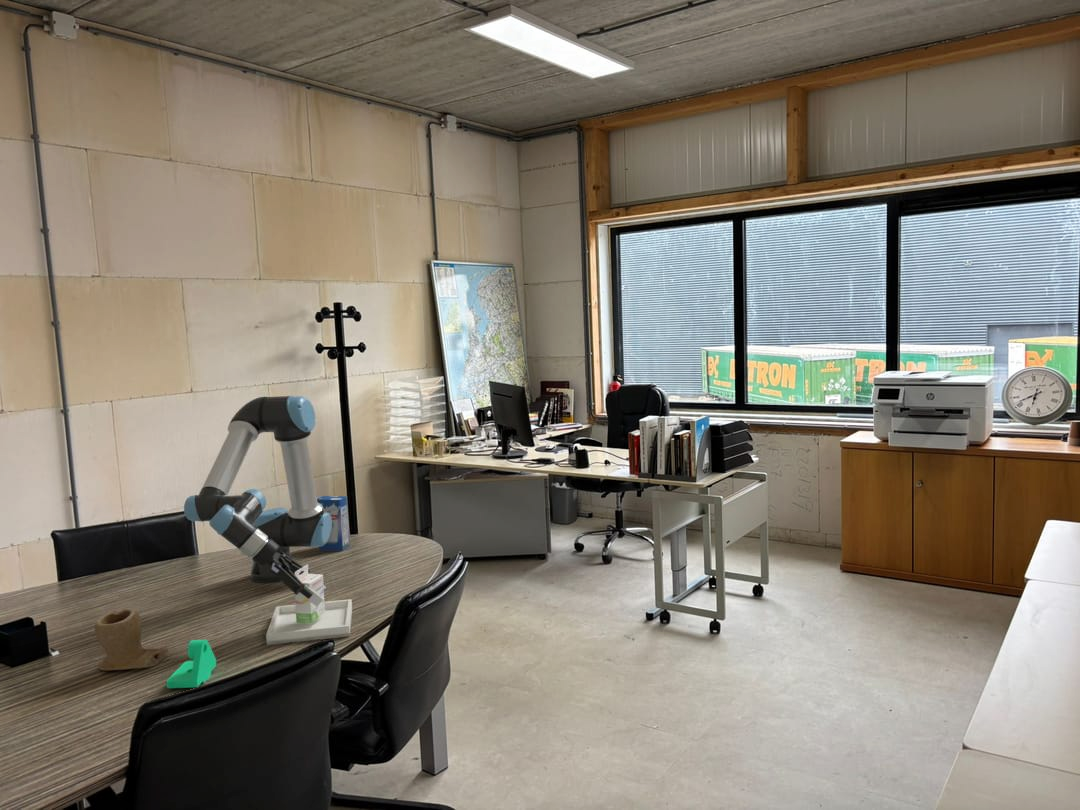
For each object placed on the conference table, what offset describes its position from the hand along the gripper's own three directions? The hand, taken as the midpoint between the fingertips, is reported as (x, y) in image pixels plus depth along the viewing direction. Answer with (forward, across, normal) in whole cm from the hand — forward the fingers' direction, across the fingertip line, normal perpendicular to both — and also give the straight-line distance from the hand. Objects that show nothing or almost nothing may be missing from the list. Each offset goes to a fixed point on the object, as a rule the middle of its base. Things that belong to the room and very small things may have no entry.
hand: (321, 596), depth 228 cm
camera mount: (-15, +28, -27) cm, 42 cm away
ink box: (+2, 0, -7) cm, 7 cm away
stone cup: (-27, +16, -39) cm, 51 cm away
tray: (+4, 0, -8) cm, 9 cm away
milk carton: (+5, -81, -7) cm, 81 cm away
